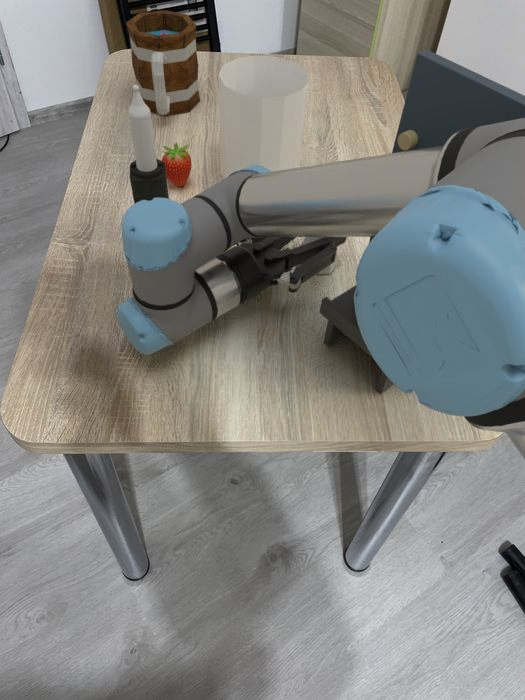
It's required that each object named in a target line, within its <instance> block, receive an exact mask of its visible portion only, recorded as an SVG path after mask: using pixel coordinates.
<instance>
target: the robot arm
mask: <svg viewBox="0 0 525 700" xmlns="http://www.w3.org/2000/svg"><path fill="white" fill-rule="evenodd" d="M305 237H324V238H321V239H319V240H316V241H313V242H310V243H307V244H305V245H302V246H300V245H299V246H296V247H294V248H291V249H290V248H289V247H288V248H287V247H286V246H287V245H288V244H290V243H291V242H292V241H294V240H295V239H296V238H305ZM358 237H359V238H367V237H368V238H370V237H374V238H373V239H372V240H371V242H370V243H369V242H368V244H367V246H366V247H365V249H364V251H363V253H362V254H361V257H360V260H359V262H358V266H357V269H356V273H355V283H356V284H355V285H357V287H356V290H355V293H354V305H355V312H356V318H357V322H358V325H359V329H360V332H361V334H362V337H363V339H364V341H365V343H366V345H367V347H368V350H369V351H370V353H371V355H372V357H373V358H374V359H373V358H372V357H371V358H372V359H373V360H374V361H375V363H376V365H377V366H378V367H379V369H380V370H381V372H382V371H383V372H384V373H385V374H386V376H387V377H388V378H389V379H390V380H391V381H392V382H393V383H394V386H396V387H397V388H398V389H399V390H400V391H402V392H403V393H404V394H410V393H412V392H414V393H415V395H416V396H417V401H418V403H419V404H420V405H422V406H424V407H426V408H428V409H430V410H433V411H436V412H439V413H441V414H445V415H448V416H456V417H464V418H465V420H466V421H467V423H469V425H470V426H472V427H474V428H476V429H480V430H483V431H490V432H496V433H497V432H498V433H505V434H506V435H507V437H508V439H510V441H511V442H512V444H513V445H514V447H515V448H516V449H517V451H518V452H519V453H520V455H521V456H522V458H523V459H524V460H525V118H521V119H516V120H511V121H506V122H501V123H495V124H490V125H485V126H478V127H472V128H467V129H463V130H459V131H458V132H456V133H454V134H453V135H452V136H451V137H450V138H449V140H448V141H447V142H446V144H445V145H444V146H437V147H431V148H424V149H418V150H411V151H404V152H398V153H392V152H390V153H386V154H379V155H371V156H365V157H359V158H352V159H346V160H338V161H333V162H327V163H326V162H325V163H319V164H313V165H306V166H300V167H299V168H293V169H286V170H279V171H273V172H272V171H271V170H269V169H266V168H264V167H263V166H261V165H251V166H248V167H246V168H244V169H241V170H238V171H235V172H233V173H231V174H230V175H229V176H228V177H227V178H225V179H224V180H223V179H222V180H220V181H218V182H217V183H215V184H213V185H212V186H210V187H208V188H206V189H204V190H203V191H201V192H199V193H198V194H196V195H194V196H192V197H190V198H188V199H186V200H185V201H182V202H181V203H180V202H178V201H175V200H174V199H170V198H169V199H167V198H154V199H153V200H151V201H147V200H141V201H139V202H137V203H135V204H134V203H133V204H132V205H131V206H129V208H128V209H127V210H126V211H125V213H124V214H123V216H122V220H121V239H122V247H123V249H122V250H123V254H124V257H125V260H126V264H127V267H128V271H129V275H130V280H131V283H132V295H133V296H131V297H128V298H127V299H126V300H125V301H123V302H122V303H120V304H119V305H118V306H117V309H116V317H117V321H118V323H119V326H120V328H121V330H122V333H123V334H124V335H125V337H126V339H127V340H128V342H129V343H130V344H131V346H132V347H133V348H134V349H135V350H136V351H137V352H139V353H140V354H142V355H145V356H146V355H147V356H148V355H152V354H154V353H156V352H159V351H160V350H163V349H165V348H167V347H169V346H173V345H174V344H175V343H177V342H179V341H180V340H182V339H183V338H185V337H187V336H189V335H191V334H192V333H194V332H195V331H197V330H199V329H201V328H202V327H204V326H206V325H207V324H209V323H211V322H213V320H216V319H218V318H220V317H221V316H223V315H225V314H227V313H228V312H230V311H232V310H234V309H235V308H237V307H238V306H239V305H242V304H245V303H246V302H248V301H250V300H253V298H255V297H257V296H259V295H260V294H262V293H263V291H265V289H267V288H270V287H275V286H277V285H282V286H285V287H288V292H289V293H290V294H295V293H297V292H298V291H299V289H300V287H301V286H302V284H304V283H305V282H307V281H308V280H309V279H311V278H313V277H314V276H316V275H318V274H317V273H319V272H320V271H322V270H323V269H325V268H326V267H328V266H329V265H331V264H332V263H334V262H335V258H336V253H337V252H338V247H339V246H341V245H343V244H345V243H346V241H347V238H358ZM284 247H286V248H284ZM300 264H301V265H300ZM298 265H299V266H298ZM296 266H298V267H296ZM295 267H296V268H295ZM293 268H294V269H293Z"/></svg>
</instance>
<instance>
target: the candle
mask: <svg viewBox="0 0 525 700" xmlns="http://www.w3.org/2000/svg"><path fill="white" fill-rule="evenodd" d="M132 91H133V94H132V99H131V104H130V106H129V107H128V110H127V114H128V115H127V116H128V121H129V127H130V128H129V129H130V134H131V141H132V146H133V152H134V159H135V160H133V161H132V162H130V164H129V181H130V187H131V193H132V199H133V205H134V204H135V203H137V202H139V201H141V200H147V201H151V200H153V199H154V198H167V199H170V195H169V187H168V178H167V177H166V168H165V163H164V162H163V161H161V160H162V159H161V160H160V159H159V158H157V152H156V144H155V137H154V129H153V121H152V113H151V112H150V109H149V108H148V106H147V105H146V104H145V103H144V101H143V99H142V97H141V95H140V92H139V86H138V85H136V84H134V85H133V86H132Z"/></svg>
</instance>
